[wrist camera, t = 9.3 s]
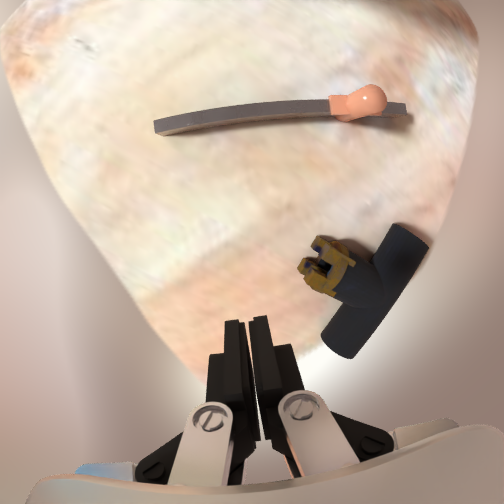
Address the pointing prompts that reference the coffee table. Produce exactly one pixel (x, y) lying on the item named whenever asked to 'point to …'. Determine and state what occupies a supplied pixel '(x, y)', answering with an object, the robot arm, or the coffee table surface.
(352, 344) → the pipe connector
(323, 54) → the coffee table surface
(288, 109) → the guide rail
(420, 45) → the coffee table surface
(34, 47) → the coffee table surface
